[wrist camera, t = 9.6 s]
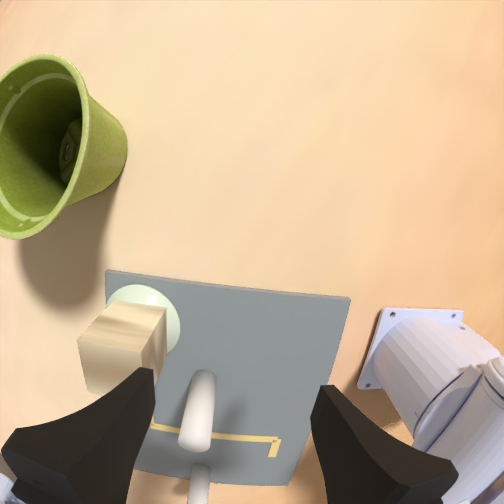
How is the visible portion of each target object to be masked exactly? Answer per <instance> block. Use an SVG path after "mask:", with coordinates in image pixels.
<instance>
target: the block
mask: <svg viewBox="0 0 504 504" xmlns="http://www.w3.org/2000/svg"><path fill="white" fill-rule="evenodd" d="M77 343H78V348H79V354H80V359H81V364H82V368H83V373H84V377H85V382H86V386H87V390H88V392H90V393H93V394H97V395H101V396H104V395H105V394H107V393H108V392H110V391H111V390H112V389H113V388H115V387H116V386H117V385H119V384H120V383H121V382H122V381H123V380H125V379H126V378H127V377H128V376H129V375H131V374H132V373H133V372H134V371H135V370H136V369H138V368H139V367H144V368H149V369H153V372H154V386H155V384H156V381H157V379H158V376H159V374H160V371H161V369H162V366H163V364H164V361H165V359H166V356H167V308H166V307H159V306H152V305H145V304H138V303H132V302H125V301H119V300H114V301H113V302H112V303H111V304H110V305H109V306H108V307H107V308H106V309H105V310H104V311H103V312H102V313H101V314H100V315H99V316H98V317H97V318H96V319H95V320H94V322H93V323H92V324H91V325H90V326H89V327H88V328H87V329H86V330H85V331H84V332H83V333H82V334H81V335H80V336H79V337H78V338H77Z"/></svg>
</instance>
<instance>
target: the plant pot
mask: <svg viewBox="0 0 504 504" xmlns="http://www.w3.org/2000/svg"><path fill="white" fill-rule="evenodd" d="M67 143H69V144H70V146H69V150H68V158H67V160H66V161H65V159H64V151H65V147H66V145H67ZM126 156H127V138H126V134H125V132H124V130H123V128H122V126H121V124H120V123H119V121H118V120H117V119H116V118H115V117H114V116H112V115H111V114H110V113H109V112H108V111H107V110H106V109H104V108H103V107H102V106H101V105H100V104H99V103H98V102H96V101H95V100H94V99H93V98H92V97H91V96H90V95H89V94H88V91H87V88H86V85H85V82H84V80H83V78H82V76H81V74H80V73H79V71H78V70H77V68H76V67H75V66H74V65H73V64H72V63H70V62H69V61H68V60H66V59H65V58H63V57H61V56H58V55H54V54H40V55H35V56H31V57H29V58H26V59H24V60H23V61H21V62H19V63H18V64H16V65H14V66H13V67H11V68H10V69H9V70H8V71H7V72H6V73H5V74H4V75H3V76H2V77H1V78H0V236H1V237H4V238H7V239H13V240H21V239H25V238H29V237H31V236H34V235H36V234H38V233H39V232H41V231H43V230H44V229H45V228H47V227H48V226H49V225H50V224H51V223H52V222H53V221H54V220H55V219H56V218H57V217H58V216H59V215H60V213H61V212H62V211H63V210H64V208H65V207H67V206H70V205H72V204H74V203H76V202H78V201H80V200H83V199H85V198H87V197H90V196H92V195H94V194H97V193H99V192H101V191H103V190H105V189H106V188H107V187H108V186H110V185H111V184H112V183H113V182H114V180H115V179H116V178H117V177H118V176H119V174H120V173H121V171H122V169H123V166H124V164H125V160H126Z"/></svg>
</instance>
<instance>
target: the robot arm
mask: <svg viewBox="0 0 504 504" xmlns="http://www.w3.org/2000/svg"><path fill="white" fill-rule="evenodd" d="M392 312H393V315H391V316H390V314H391V313H392ZM452 315H453V316H452ZM451 316H452V317H451ZM463 316H464V312H463V311H462V310H449V309H418V308H396V307H385V308H383V309H382V311H381V313H380V316H379V320H378V323H377V326H376V330H375V333H374V336H373V339H372V342H371V345H370V349H369V352H368V354H367V357H366V360H365V363H364V366H363V369H362V372H361V374H360V377H359V380H358V382H357V387H358V389H359V390H367V389H384V391H385V392H386V394H387V396H388V397H389V399H390V401H391V402H392V404H393V405H394V407H395V409H396V410H397V412H398V414H399V415H400V417H401V419H402V420H403V422H404V424H405V425H406V427H407V429H408V430H409V432H410V434H411V435H412V437H413V439H414V442H413V444H412V446H409V445H407V444H405V443H403V442H401V441H399V440H398V439H396V438H394V437H393V436H391V435H390V434H388V433H387V432H385V431H384V430H382V429H381V428H379V427H378V426H377V425H376V424H374V423H373V422H372V421H371V420H369V419H368V418H367V417H366V416H365V415H364V414H363V413H362V412H360V411H359V410H358V409H357V408H356V407H355V406H354V405H353V404H352V403H351V402H350V401H349V400H348V399H347V398H346V397H345V396H344V395H343V394H342V393H341V392H340V391H339V390H338V389H337V388H336V387H335V386H334V385H321V386H320V389H319V392H318V395H317V398H316V401H315V404H314V407H313V410H312V413H311V416H310V422H311V430H312V436H313V440H314V444H315V447H316V451H317V454H318V458H319V461H320V464H321V468H322V471H323V475H324V480H325V486H326V493H327V500H328V504H504V356H501V354H500V353H499V351H498V350H497V349H496V348H495V347H494V346H492V345H491V344H490V343H489V342H487V341H486V340H485V339H483V338H482V337H481V336H479V335H478V334H477V333H476V332H474V331H473V330H472V329H470V328H469V327H468V326H466V325H465V324H464V323H462V319H463ZM368 383H369V384H368ZM366 384H368V385H366ZM155 404H156V400H155V388H154V372H153V369H149V368H144V367H139V368H138V369H136V370H135V371H134V372H133V373H132V374H131V375H129V376H128V377H127V378H126V379H125V380H123V381H122V382H121V383H120V384H119V385H117V386H116V387H115V388H113V389H112V390H111V391H110V392H108V393H107V394H105V395H104V396H102V397H101V398H100V399H98V400H97V401H95V402H94V403H92V404H90V405H89V406H87V407H85V408H83V409H81V410H79V411H77V412H75V413H73V414H70V415H68V416H65V417H63V418H60V419H58V420H54V421H51V422H48V423H44V424H40V425H36V426H30V427H23V428H16V429H15V431H14V432H13V433H12V434H11V436H10V437H9V439H8V440H7V441H6V443H5V444H4V446H3V447H2V449H1V452H2V456H3V457H4V460H5V461H6V463H7V464H8V466H9V467H10V468H11V470H12V471H13V473H14V474H15V475H16V477H17V480H16V482H15V483H14V482H13V481H12V480H11V479H9V478H8V477H7V476H5V475H4V474H2V473H0V504H126V499H127V494H128V489H129V485H130V480H131V476H132V472H133V468H134V464H135V461H136V458H137V456H138V453H139V451H140V448H141V446H142V443H143V441H144V438H145V436H146V433H147V431H148V428H149V426H150V423H151V420H152V416H153V412H154V408H155Z"/></svg>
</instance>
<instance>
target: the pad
mask: <svg viewBox="0 0 504 504" xmlns="http://www.w3.org/2000/svg"><path fill="white" fill-rule="evenodd" d="M114 300H119V301H125V302H132V303H138V304H145V305H152V306H159V307H166V308H167V353H169V352H170V351H171V350H172V349H173V348H174V347H175V345H176V344H177V341H178V339H179V337H180V333H181V321H180V317H179V314H178V311H177V309H176V308H175V306H174V304H173V303H172V302H171V300H170V299H169V298H168V297H167V296H166V295H164V294H163V293H162V292H160V291H159V290H157V289H155V288H153V287H151V286H148V285H144V284H129V285H126V286H123V287H121V288H119V289H118V290H117V291H115V292H114V293H113V294H112V295H111V297H110V298H109V300H108V302H107V304H106V307H105V309H106V308H107V307H108V306H109V305H110V304H111V303H112V302H113V301H114Z"/></svg>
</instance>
